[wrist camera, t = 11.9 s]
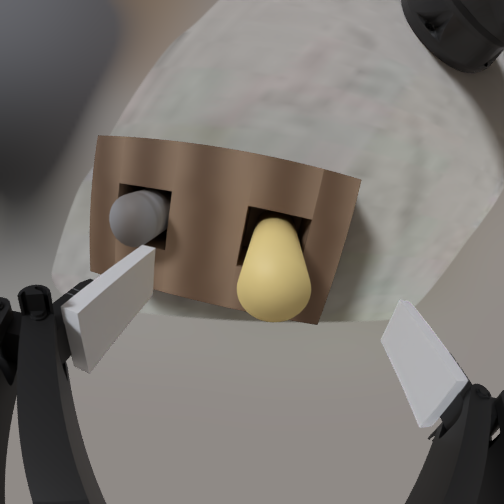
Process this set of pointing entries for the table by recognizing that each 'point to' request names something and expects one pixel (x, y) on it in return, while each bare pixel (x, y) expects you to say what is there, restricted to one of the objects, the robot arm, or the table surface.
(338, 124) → the table surface
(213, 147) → the hole block
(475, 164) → the table surface
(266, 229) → the peg
